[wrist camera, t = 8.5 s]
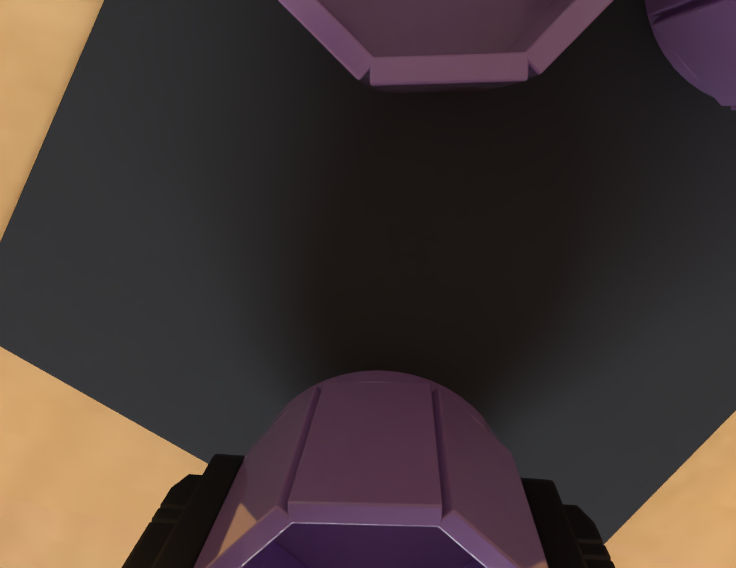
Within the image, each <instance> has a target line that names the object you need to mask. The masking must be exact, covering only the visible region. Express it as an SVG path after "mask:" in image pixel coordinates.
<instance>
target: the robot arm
mask: <svg viewBox="0 0 736 568" xmlns="http://www.w3.org/2000/svg"><path fill="white" fill-rule="evenodd" d="M244 458H245V456H242V455H228V454H215V455H214V456H213V457H212V459H211V461H210V462H209V464H208V466H207V468H206V470H205V471H204V473H203V475H193V474H189V475H187V476H186V477H185V478H184V479H182V480H181V481H180V482H178V483H177V484H176V485H174V486H173V487H172V488H171V489H170V491H169V492H168V494H167V495H166V497H165V499H164V500H163V502H162V503H161V507H160V508H158V510H157V512H156V513H155V515H154V516H153V518H152V522H150V523H149V524H148V526H147V528H146V529H145V531H144V532H143V534H142V536H141V537H140V539H139V540H138V542H137V544H136V545H135V547H134V549H133V550H132V552H131V553H130V555H129V557H128V558H127V560H126V561H125V563H124V565H123V566H122V568H194V566H195V564H196V561H197V559H198V557H199V555H200V553H201V551H202V549H203V546H204V544H205V542H206V540H207V538H208V536H209V533H210V531H211V529H212V527H213V525H214V523H215V521H216V518H217V516H218V514H219V512H220V510H221V508H222V505H223V503H224V501H225V499H226V497H227V495H228V493H229V490H230V488H231V486H232V484H233V482H234V480H235V478H236V475H237V473H238V471H239V469H240V467H241V465H242V462H243V460H244ZM520 478H521V477H520ZM521 481H522V485H523V488H524V491H525V494H526V497H527V501H528V504H529V507H530V510H531V513H532V516H533V520H534V523H535V526H536V529H537V532H538V536H539V539H540V542H541V545H542V548H543V551H544V555H545V558H546V561H547V564H548V567H549V568H615V566H614V564H613V562H611V559H610V558H611V557H610V555H609V553H608V551H607V549H606V547H605V545H603V540H602V538H601V536H600V533H599V531H598V529H597V527H596V525H595V523H594V522H593V521H592V520H591V519H590V518H589V517H588V516H587V515H586V514H585V513H584V512H583V511H582V510H581V509H580V508H579V507H578V506H577V505H567V504H563V503H562V501H561V498H560V496H559V493H558V491H557V488H556V486H555V484H554V482H553V481H552V480H547V479H534V478H521Z"/></svg>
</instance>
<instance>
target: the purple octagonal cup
mask: <svg viewBox="0 0 736 568" xmlns="http://www.w3.org/2000/svg"><path fill="white" fill-rule="evenodd" d="M278 1H279V2H280V3H281V4H282V5H283V6H284V7H285V8H286V9H287V10H288V11H289V12H290V13H291V14H292V15H293V16H294V17H295V18H296V19H297V20H298V21H299V22H300V23H301V24H302V25H303V26H304V27H305V28H306V29H307V30H308V31H309V32H310V33H311V34H312V35H313V36H314V37H315V38H316V39H317V40H318V41H319V42H320V43H321V44H322V45H323V46H324V47H325V48H326V49H327V50H328V51H329V52H330V53H331V54H332V55H333V56H334V57H335V58H336V59H337V60H338V61H339V62H340V63H341V64H342V65H343V66H344V67H345V68H346V69H347V70H348V71H349V72H350V73H351V74H352V75H353V76H354V77H355V78H356V79H357V80H358V81H360V82H361V83H363V84H365V85H366V86H368V87H369V88H371V89H374V88H375V89H377V90H378V91H379V92H381V93H412V92H429V93H435V92H445V91H478V90H490V89H494V88H499V87H503V86H507V85H511V84H515V83H519V82H523V81H526V80H527V79H528V77H532V76H535V75H539V74H541V73H543V72H544V71H545V70H546V69H547V68H548V67H549V66H550V65H551V64H552V63H553V62H554V61H555V60H556V59H557V58H558V57H559V55H560V54H561V53H562V52H563V51H564V50H565V49H566V48H567V47H568V46H569V45H570V44H571V43H572V42H573V41H574V40H575V39H576V38H577V37H578V36H579V35H580V34H581V33H582V32H583V31H584V30H585V29H586V28H587V27H588V26H589V25H590V24H591V23H592V22H593V21H594V20H595V19H596V18H597V17H598V16H599V15H600V14H601V13H602V12H603V11H604V10H605V9H606V8H607V7H608V6H609V5H610V4H611V3H612V2H613V1H614V0H278Z"/></svg>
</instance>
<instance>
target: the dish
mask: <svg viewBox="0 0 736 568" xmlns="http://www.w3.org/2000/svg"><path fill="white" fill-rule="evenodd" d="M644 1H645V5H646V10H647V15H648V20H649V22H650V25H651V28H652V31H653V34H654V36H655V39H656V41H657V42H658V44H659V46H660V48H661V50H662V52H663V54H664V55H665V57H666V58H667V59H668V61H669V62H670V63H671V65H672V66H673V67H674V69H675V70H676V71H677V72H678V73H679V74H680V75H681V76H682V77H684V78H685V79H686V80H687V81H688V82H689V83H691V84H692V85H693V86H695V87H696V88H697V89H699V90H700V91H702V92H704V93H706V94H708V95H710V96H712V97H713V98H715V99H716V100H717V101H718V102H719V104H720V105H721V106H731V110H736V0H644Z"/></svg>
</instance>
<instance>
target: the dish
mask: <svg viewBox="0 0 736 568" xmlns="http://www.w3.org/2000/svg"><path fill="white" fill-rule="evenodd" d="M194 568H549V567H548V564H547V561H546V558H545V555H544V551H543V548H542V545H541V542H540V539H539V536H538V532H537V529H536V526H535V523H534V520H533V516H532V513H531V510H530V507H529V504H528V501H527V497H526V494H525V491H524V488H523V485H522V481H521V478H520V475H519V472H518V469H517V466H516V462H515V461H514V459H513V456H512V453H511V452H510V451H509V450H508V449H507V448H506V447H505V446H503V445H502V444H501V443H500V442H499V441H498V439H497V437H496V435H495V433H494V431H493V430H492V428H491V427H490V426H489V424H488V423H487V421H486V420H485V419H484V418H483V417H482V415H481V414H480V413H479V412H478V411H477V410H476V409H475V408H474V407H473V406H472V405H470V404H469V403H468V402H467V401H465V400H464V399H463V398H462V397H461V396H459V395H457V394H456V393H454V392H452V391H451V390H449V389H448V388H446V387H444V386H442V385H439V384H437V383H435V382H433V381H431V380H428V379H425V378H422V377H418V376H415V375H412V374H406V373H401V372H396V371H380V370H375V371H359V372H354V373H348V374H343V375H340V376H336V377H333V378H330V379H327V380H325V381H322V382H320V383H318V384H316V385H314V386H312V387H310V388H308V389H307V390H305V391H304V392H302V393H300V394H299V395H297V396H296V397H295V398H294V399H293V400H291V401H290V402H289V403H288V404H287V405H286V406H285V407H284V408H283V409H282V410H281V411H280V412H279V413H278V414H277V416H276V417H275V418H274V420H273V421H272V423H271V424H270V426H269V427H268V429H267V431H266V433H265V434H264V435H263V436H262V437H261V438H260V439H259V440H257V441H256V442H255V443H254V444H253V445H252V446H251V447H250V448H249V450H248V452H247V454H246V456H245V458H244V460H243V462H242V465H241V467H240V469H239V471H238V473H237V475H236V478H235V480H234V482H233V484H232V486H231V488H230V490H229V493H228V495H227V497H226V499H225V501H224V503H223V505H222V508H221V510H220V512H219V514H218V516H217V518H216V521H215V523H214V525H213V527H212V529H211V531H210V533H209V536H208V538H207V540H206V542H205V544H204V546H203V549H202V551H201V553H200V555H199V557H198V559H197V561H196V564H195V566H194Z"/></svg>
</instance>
